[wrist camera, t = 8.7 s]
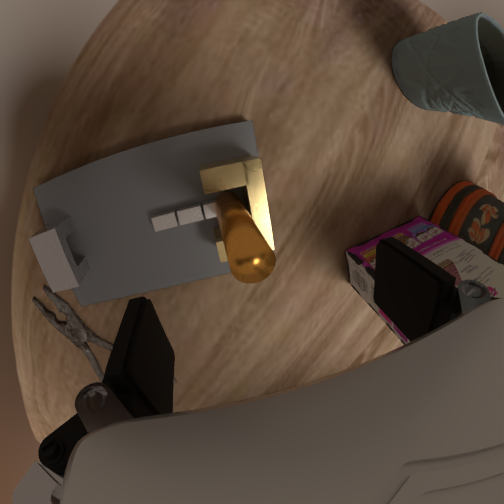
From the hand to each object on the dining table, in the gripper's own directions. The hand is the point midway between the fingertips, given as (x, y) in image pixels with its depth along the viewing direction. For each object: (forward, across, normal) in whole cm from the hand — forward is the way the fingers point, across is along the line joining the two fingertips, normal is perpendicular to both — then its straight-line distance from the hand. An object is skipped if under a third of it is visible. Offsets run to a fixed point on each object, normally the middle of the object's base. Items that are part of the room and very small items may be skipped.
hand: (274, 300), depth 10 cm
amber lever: (+12, +3, -1) cm, 12 cm away
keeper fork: (+12, 0, -1) cm, 12 cm away
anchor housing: (+12, +15, -1) cm, 19 cm away
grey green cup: (+14, -22, -12) cm, 29 cm away
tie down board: (+14, +7, -1) cm, 15 cm away
